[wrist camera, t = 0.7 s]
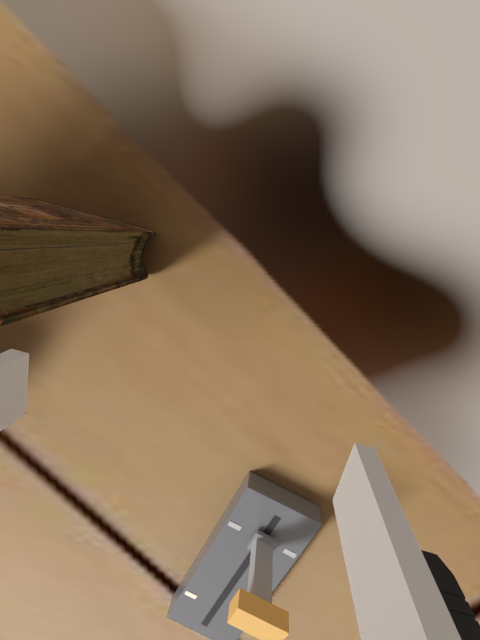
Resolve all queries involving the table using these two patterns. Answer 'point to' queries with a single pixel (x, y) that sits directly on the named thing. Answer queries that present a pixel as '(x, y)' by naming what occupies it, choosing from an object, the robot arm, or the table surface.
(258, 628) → the fader knob
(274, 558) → the fader console
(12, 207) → the book
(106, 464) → the table surface
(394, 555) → the robot arm
